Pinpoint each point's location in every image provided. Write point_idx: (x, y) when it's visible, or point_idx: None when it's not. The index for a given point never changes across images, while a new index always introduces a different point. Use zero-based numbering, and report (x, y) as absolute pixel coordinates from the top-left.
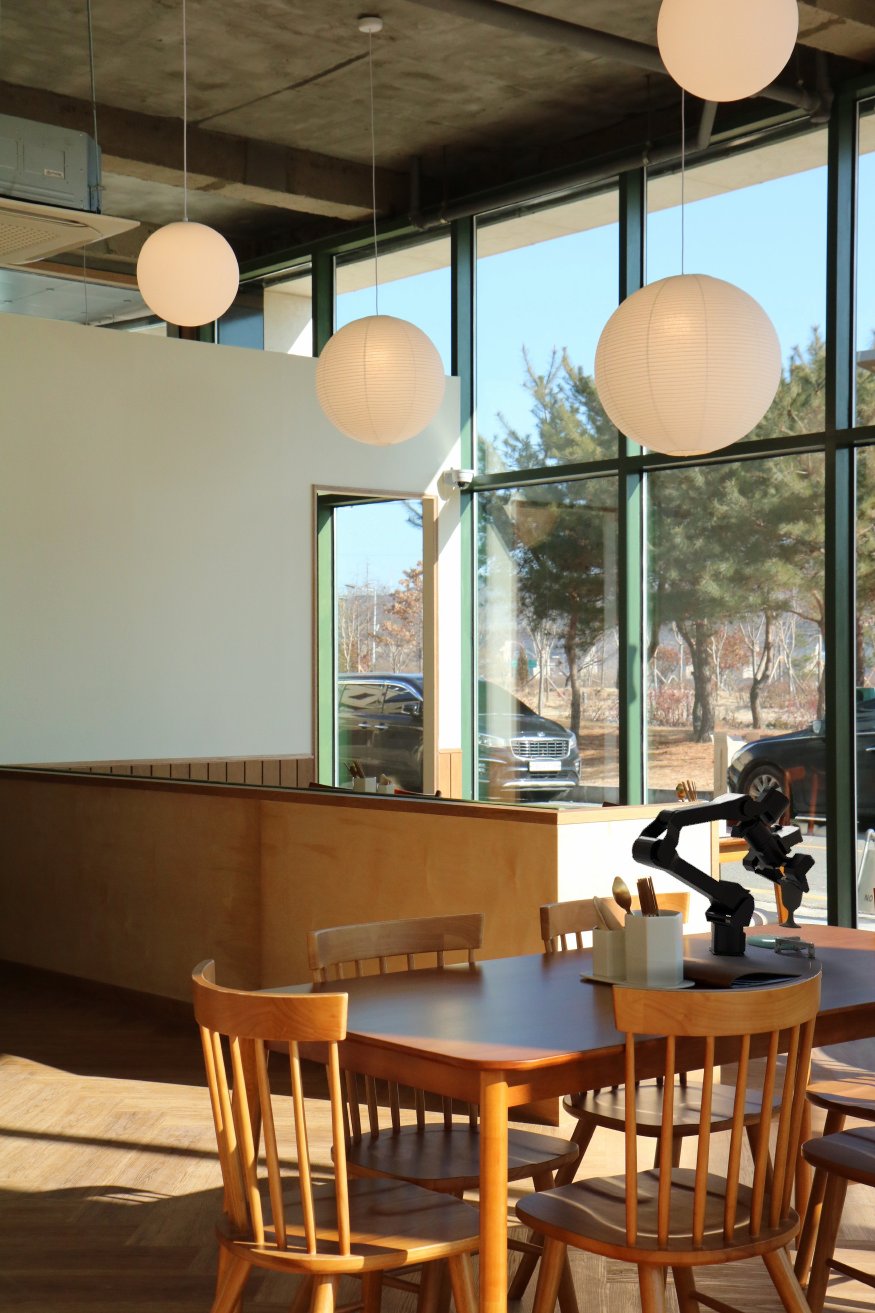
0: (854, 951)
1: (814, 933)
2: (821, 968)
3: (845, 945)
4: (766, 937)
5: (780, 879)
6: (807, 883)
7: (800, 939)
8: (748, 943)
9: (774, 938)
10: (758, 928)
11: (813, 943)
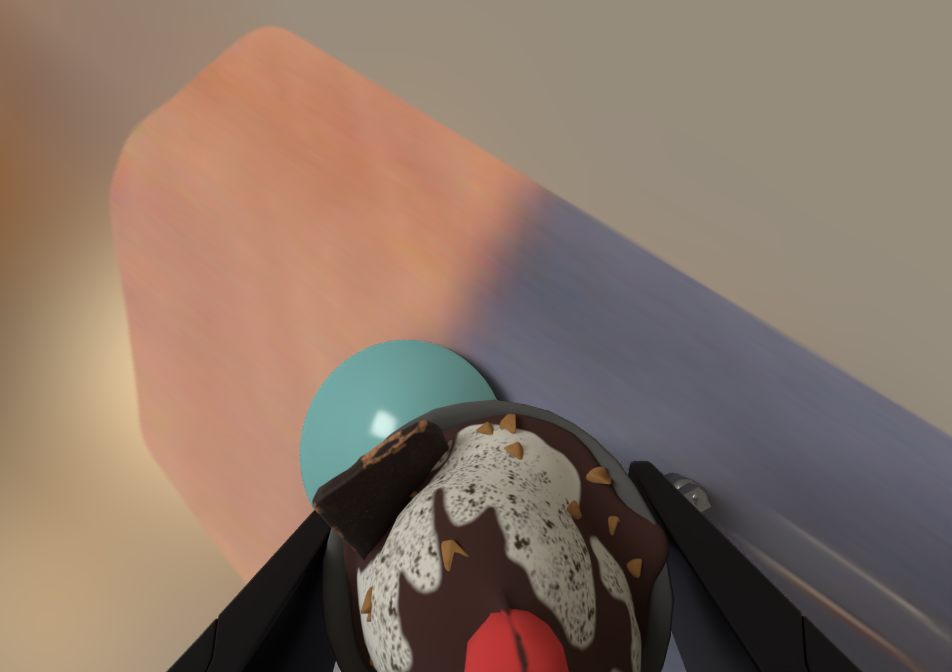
0: (564, 238)
1: (263, 181)
2: (917, 610)
3: (460, 204)
4: (353, 453)
5: (345, 639)
6: (722, 539)
7: (412, 344)
8: None
9: (377, 434)
10: (147, 309)
11: (703, 492)
